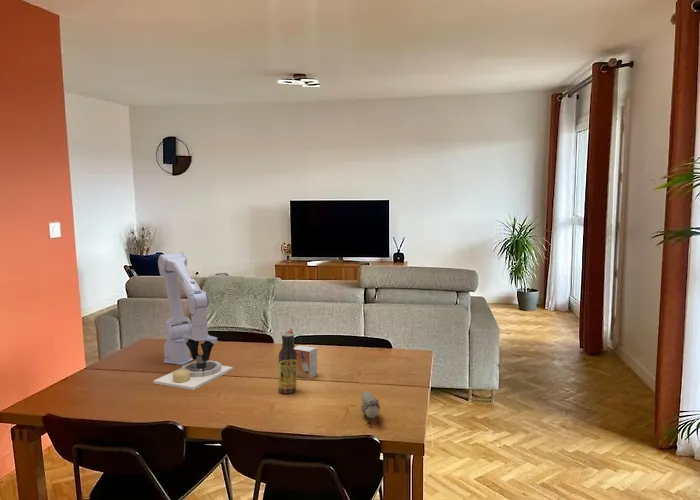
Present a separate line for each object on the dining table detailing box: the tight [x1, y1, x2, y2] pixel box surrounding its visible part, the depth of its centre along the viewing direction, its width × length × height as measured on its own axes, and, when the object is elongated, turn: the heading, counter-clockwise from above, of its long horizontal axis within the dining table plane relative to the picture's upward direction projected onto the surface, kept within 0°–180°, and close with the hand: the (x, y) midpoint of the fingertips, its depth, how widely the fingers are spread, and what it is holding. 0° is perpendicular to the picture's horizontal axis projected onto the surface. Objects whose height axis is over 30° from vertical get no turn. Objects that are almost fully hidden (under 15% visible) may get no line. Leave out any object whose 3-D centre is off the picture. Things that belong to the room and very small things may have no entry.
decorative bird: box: [360, 390, 382, 426], centre depth 163 cm, size 5×16×8 cm, turn 7°
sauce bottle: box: [277, 332, 298, 394], centre depth 183 cm, size 6×6×20 cm
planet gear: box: [188, 352, 215, 372], centre depth 204 cm, size 10×10×6 cm
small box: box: [294, 344, 318, 380], centre depth 199 cm, size 8×6×10 cm
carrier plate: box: [152, 359, 234, 391], centre depth 200 cm, size 18×23×4 cm
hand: (200, 359), depth 203 cm, fingers open, 5 cm apart
